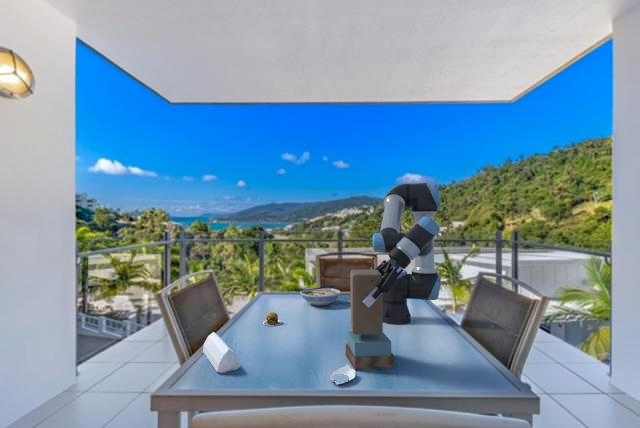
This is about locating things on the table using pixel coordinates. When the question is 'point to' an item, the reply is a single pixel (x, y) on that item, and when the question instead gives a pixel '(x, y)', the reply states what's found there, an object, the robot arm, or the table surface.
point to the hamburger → (272, 319)
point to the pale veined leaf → (344, 370)
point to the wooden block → (361, 315)
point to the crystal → (220, 354)
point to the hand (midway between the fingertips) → (360, 300)
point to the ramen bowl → (320, 295)
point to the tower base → (369, 361)
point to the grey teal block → (369, 344)
